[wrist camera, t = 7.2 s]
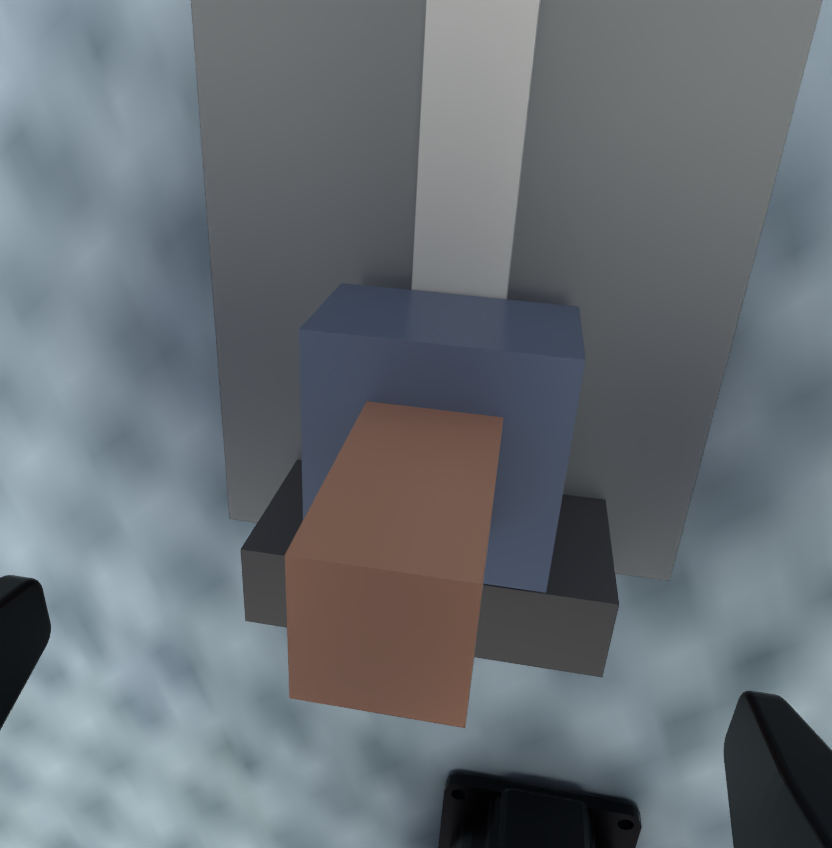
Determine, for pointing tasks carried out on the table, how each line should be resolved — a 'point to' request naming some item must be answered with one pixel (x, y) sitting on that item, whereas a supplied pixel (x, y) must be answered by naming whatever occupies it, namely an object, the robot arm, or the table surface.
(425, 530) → the traveler car
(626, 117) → the traveler track
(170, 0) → the table surface
